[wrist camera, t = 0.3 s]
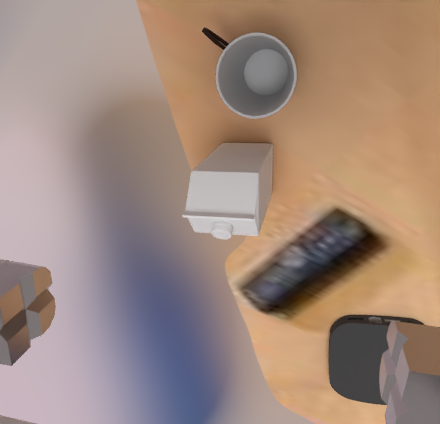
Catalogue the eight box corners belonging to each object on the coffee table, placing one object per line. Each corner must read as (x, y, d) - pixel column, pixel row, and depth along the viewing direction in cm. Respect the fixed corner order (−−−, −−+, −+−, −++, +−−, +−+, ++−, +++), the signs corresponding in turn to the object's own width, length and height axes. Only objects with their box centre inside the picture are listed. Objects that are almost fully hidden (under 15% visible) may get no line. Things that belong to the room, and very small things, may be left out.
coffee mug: (311, 89, 52) (310, 96, 42) (250, 118, 55) (236, 131, 45) (273, -2, 49) (263, -15, 40) (211, 34, 52) (188, 30, 43)
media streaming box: (328, 386, 68) (328, 400, 65) (329, 311, 63) (330, 323, 60) (424, 396, 64) (429, 411, 62) (433, 317, 59) (439, 330, 57)
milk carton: (221, 142, 57) (179, 181, 39) (273, 143, 55) (253, 184, 38) (223, 191, 59) (184, 248, 42) (272, 193, 58) (253, 253, 40)
